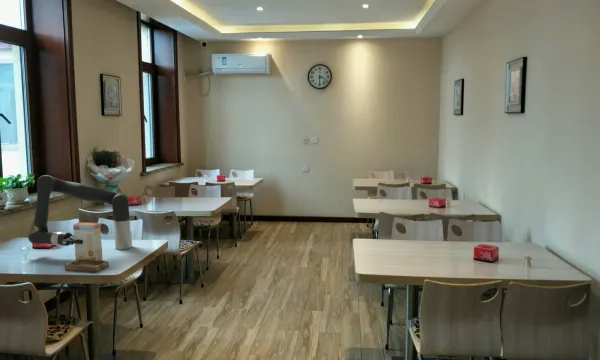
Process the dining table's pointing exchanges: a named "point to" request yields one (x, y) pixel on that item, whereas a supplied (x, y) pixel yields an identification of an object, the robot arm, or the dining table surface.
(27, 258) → the dining table surface
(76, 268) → the tray
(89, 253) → the cracker box
